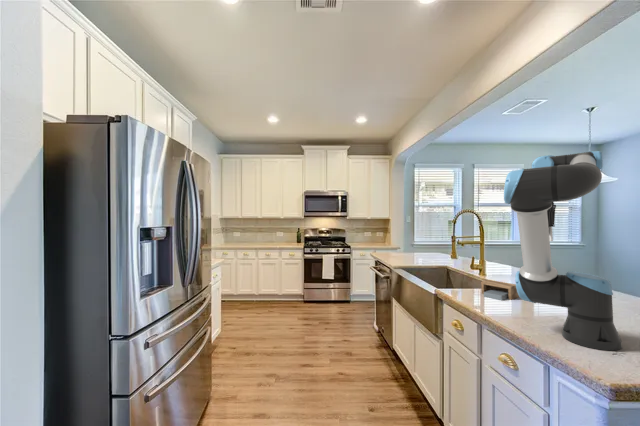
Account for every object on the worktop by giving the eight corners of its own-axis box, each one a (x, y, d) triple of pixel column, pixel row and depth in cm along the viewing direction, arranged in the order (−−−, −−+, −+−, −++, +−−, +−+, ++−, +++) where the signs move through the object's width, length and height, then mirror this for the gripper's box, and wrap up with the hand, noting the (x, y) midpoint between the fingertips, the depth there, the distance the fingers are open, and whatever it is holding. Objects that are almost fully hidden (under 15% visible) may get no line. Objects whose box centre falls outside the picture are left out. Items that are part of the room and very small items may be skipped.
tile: (501, 301, 148) (501, 295, 148) (483, 297, 155) (483, 292, 155) (512, 297, 154) (512, 292, 154) (495, 294, 162) (495, 288, 162)
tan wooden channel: (511, 299, 149) (510, 287, 149) (481, 293, 162) (481, 281, 162) (518, 297, 153) (518, 284, 153) (489, 291, 166) (489, 279, 166)
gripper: (550, 188, 125) (552, 242, 124) (562, 189, 131) (564, 240, 131) (530, 190, 131) (532, 241, 131) (543, 191, 138) (544, 239, 137)
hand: (548, 240), depth 131 cm, fingers closed
